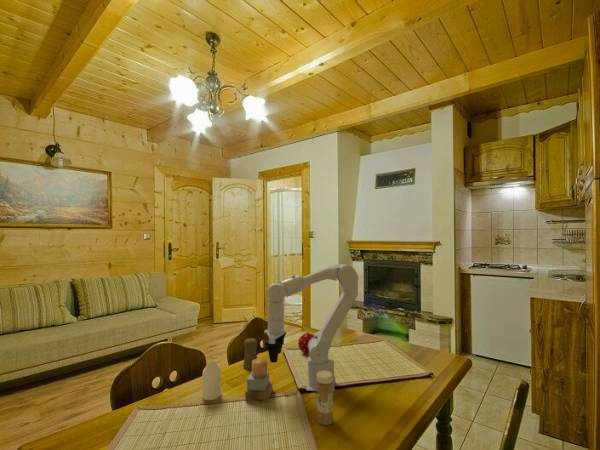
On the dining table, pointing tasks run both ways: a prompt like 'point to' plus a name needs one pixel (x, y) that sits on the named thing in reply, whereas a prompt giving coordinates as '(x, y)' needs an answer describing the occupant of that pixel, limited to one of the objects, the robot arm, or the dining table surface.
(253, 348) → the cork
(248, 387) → the slate-grey block
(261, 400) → the walnut slab
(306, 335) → the christmas ornament
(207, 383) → the cream domed cylinder
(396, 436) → the dining table surface
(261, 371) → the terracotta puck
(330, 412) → the sprinkles bottle
